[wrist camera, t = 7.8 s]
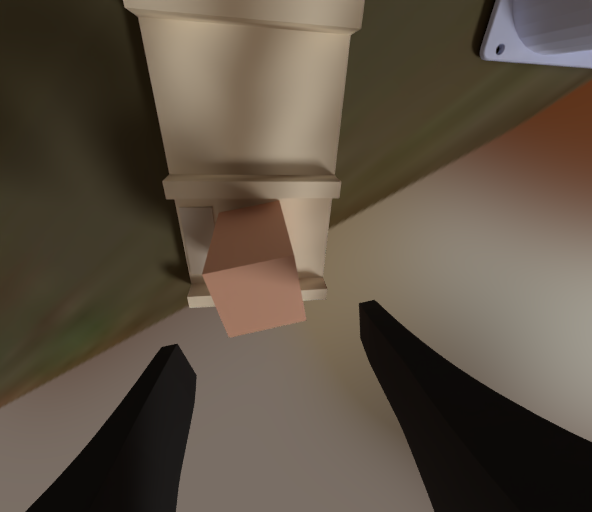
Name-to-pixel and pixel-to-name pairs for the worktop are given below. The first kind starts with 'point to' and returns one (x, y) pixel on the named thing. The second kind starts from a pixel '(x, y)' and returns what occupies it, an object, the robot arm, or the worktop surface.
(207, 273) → the block
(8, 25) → the worktop surface
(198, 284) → the notched rack
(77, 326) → the worktop surface
